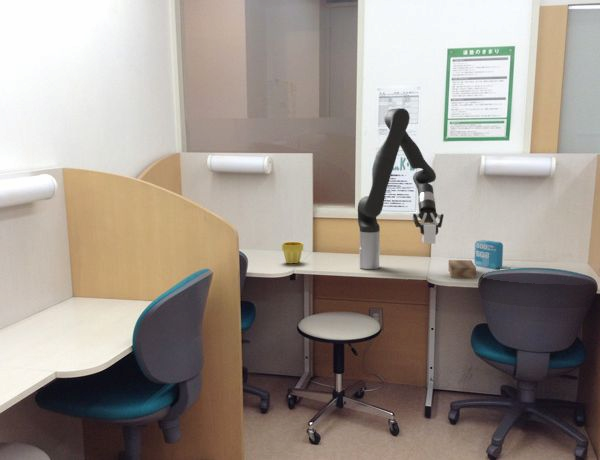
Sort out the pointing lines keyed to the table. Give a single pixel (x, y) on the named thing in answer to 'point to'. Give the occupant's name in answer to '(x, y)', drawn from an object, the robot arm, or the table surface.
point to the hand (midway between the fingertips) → (429, 233)
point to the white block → (429, 233)
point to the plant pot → (292, 251)
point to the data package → (488, 254)
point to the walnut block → (462, 269)
